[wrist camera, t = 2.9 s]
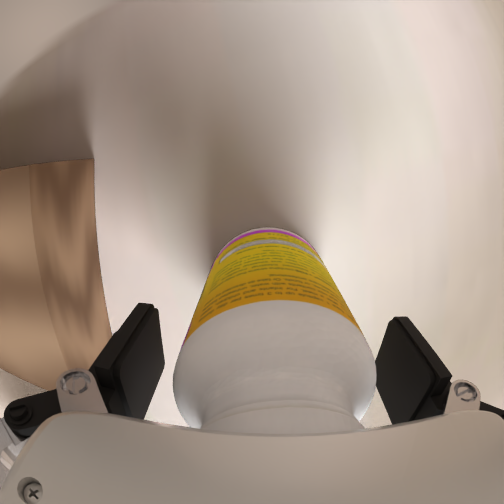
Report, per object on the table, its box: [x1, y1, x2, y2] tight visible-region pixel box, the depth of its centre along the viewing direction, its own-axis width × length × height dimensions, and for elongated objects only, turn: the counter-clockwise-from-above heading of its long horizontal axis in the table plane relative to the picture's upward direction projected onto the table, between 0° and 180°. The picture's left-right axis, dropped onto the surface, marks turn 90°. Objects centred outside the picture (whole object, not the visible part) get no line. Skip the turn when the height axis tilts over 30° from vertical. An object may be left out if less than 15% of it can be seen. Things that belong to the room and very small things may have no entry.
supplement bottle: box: [173, 227, 377, 434], centre depth 11 cm, size 7×7×13 cm
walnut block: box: [0, 159, 112, 391], centre depth 14 cm, size 14×14×6 cm
